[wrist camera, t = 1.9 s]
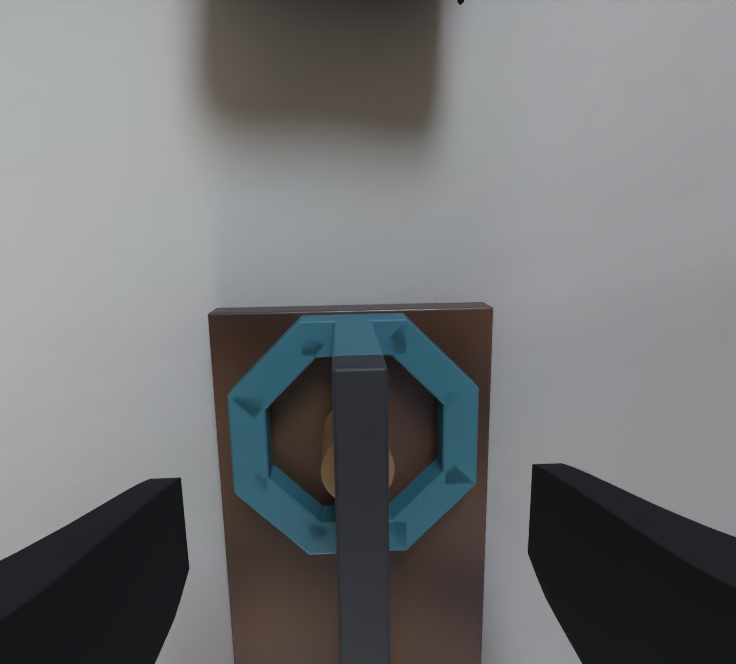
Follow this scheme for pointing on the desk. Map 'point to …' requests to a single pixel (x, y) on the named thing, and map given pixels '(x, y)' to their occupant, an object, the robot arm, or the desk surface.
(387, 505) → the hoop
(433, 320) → the rack
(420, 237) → the desk surface
